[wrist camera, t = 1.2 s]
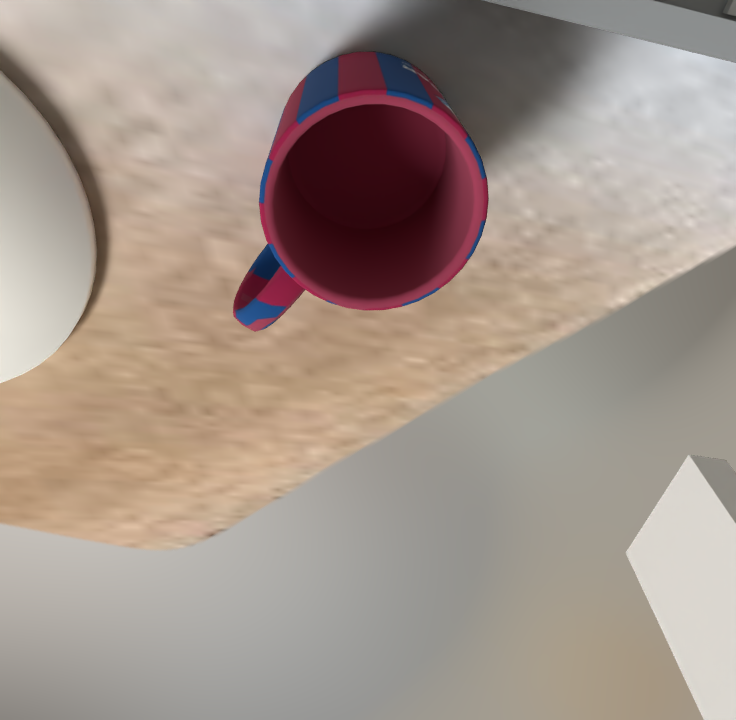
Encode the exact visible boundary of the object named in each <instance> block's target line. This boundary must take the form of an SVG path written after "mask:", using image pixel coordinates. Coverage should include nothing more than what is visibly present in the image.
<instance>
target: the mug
mask: <svg viewBox="0 0 736 720" xmlns="http://www.w3.org/2000/svg"><path fill="white" fill-rule="evenodd" d="M488 199H489V198H488V185H487V177H486V173H485V170H484V166H483V162H482V159H481V157H480V155H479V153H478V151H477V149H476V147H475V145H474V142H473V141H472V139H471V138H470V136H469V135H468V133H467V132H466V130H465V129H464V127H463V126H462V124H461V123H460V121H459V120H458V118H457V117H456V115H455V114H454V112H453V111H452V109H451V108H450V106H449V105H448V103H447V101H446V100H445V98H444V97H443V95H442V94H441V93H440V91H439V90H438V88H437V87H436V86H435V84H434V83H433V82H432V80H430V79H429V78H428V77H427V76H426V75H425V74H424V73H423V72H422V71H421V70H420V69H418V68H417V67H415V66H413V65H412V64H410V63H409V62H407V61H405V60H403V59H400V58H398V57H395V56H393V55H389V54H384V53H378V52H355V53H350V54H345V55H341V56H338V57H336V58H334V59H331V60H329V61H326V62H325V63H323V64H322V65H320V66H319V67H317V68H316V69H314V70H312V71H311V72H310V73H309V74H308V75H307V76H306V77H305V78H304V79H303V80H302V81H301V82H300V83H299V85H298V86H297V87H296V89H295V90H294V92H293V93H292V94H291V96H290V98H289V100H288V102H287V104H286V106H285V108H284V111H283V114H282V117H281V120H280V123H279V126H278V129H277V132H276V135H275V138H274V141H273V144H272V147H271V150H270V153H269V156H268V159H267V162H266V165H265V169H264V172H263V176H262V180H261V185H260V198H259V206H260V216H261V223H262V227H263V230H264V234H265V237H266V240H267V242H268V244H267V245H266V247H265V248H264V249H263V251H262V252H261V253H260V255H259V256H258V257H257V259H256V260H255V262H254V263H253V265H252V266H251V268H250V269H249V271H248V273H247V274H246V276H245V278H244V280H243V281H242V283H241V285H240V287H239V290H238V292H237V294H236V297H235V300H234V306H233V314H234V317H235V318H236V319H237V320H238V321H239V322H240V323H241V324H242V325H243V326H245V327H247V328H249V329H251V330H253V331H259V330H262V329H265V328H267V327H268V326H270V325H271V324H273V323H274V322H275V321H276V320H277V319H278V318H280V317H281V316H282V315H283V314H284V313H285V312H286V311H287V310H288V309H289V308H290V307H291V305H292V304H293V303H294V302H295V301H296V300H297V299H298V298H299V297H300V295H301V294H302V293H303V292H304V291H305V289H306V290H307V291H309V292H310V293H311V294H313V295H315V296H317V297H319V298H321V299H323V300H325V301H327V302H329V303H332V304H336V305H339V306H342V307H346V308H351V309H359V310H386V309H392V308H397V307H402V306H405V305H408V304H411V303H414V302H417V301H419V300H421V299H423V298H425V297H427V296H429V295H431V294H433V293H435V292H436V291H437V290H439V289H440V288H441V287H443V286H444V285H445V284H447V283H448V282H450V281H451V280H452V278H453V277H454V276H455V275H456V274H457V273H458V272H459V271H460V270H461V269H462V268H463V267H464V265H465V264H466V263H467V261H468V260H469V258H470V257H471V256H472V254H473V252H474V250H475V248H476V246H477V244H478V242H479V240H480V238H481V236H482V232H483V229H484V225H485V222H486V218H487V209H488Z"/></svg>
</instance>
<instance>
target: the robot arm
mask: <svg viewBox="0 0 736 720" xmlns="http://www.w3.org/2000/svg"><path fill="white" fill-rule="evenodd" d="M626 554H627V557H628V559H629V561H630V563H631V565H632V567H633V569H634V571H635V573H636V576H637V578H638V580H639V582H640V584H641V586H642V589H643V591H644V593H645V595H646V597H647V599H648V601H649V603H650V605H651V608H652V610H653V612H654V614H655V616H656V619H657V621H658V623H659V625H660V627H661V629H662V631H663V633H664V636H665V638H666V640H667V642H668V644H669V646H670V648H671V650H672V653H673V655H674V657H675V659H676V661H677V663H678V665H679V668H680V670H681V672H682V674H683V676H684V678H685V681H686V682H687V685H688V687H689V689H690V691H691V693H692V695H693V698H694V700H695V702H696V704H697V706H698V708H699V710H700V713H701V715H702V717H703V719H704V720H736V473H735V471H734V470H733V469H732V467H731V466H730V465H729V464H728V462H727V461H726V460H722V459H716V458H709V457H702V456H695V455H688V457H687V458H686V460H685V461H684V463H683V465H682V466H681V468H680V469H679V471H678V473H677V474H676V475H675V477H674V479H673V480H672V482H671V483H670V485H669V486H668V488H667V490H666V491H665V493H664V494H663V496H662V497H661V499H660V500H659V502H658V503H657V505H656V507H655V508H654V510H653V511H652V513H651V514H650V516H649V517H648V519H647V521H646V522H645V524H644V525H643V527H642V529H641V530H640V531H639V533H638V535H637V536H636V538H635V539H634V541H633V542H632V544H631V545H630V547H629V549H628V550H627V552H626Z"/></svg>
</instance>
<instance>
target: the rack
mask: <svg viewBox="0 0 736 720" xmlns="http://www.w3.org/2000/svg"><path fill="white" fill-rule="evenodd" d="M483 1H487V2H491V3H495V4H499V5H503V6H507V7H511V8H515V9H519V10H523V11H528V12H532V13H536V14H540V15H544V16H548V17H552V18H556V19H560V20H564V21H568V22H572V23H576V24H580V25H584V26H588V27H592V28H597V29H601V30H605V31H609V32H613V33H617V34H621V35H625V36H629V37H633V38H637V39H641V40H645V41H649V42H653V43H657V44H661V45H666V46H670V47H674V48H678V49H682V50H686V51H690V52H694V53H698V54H702V55H706V56H710V57H714V58H718V59H722V60H726V61H730V62H735V63H736V0H483Z"/></svg>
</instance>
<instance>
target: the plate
mask: <svg viewBox="0 0 736 720" xmlns="http://www.w3.org/2000/svg"><path fill="white" fill-rule="evenodd" d="M96 261H97V245H96V235H95V226H94V222H93V218H92V213H91V209H90V205H89V201H88V198H87V196H86V193H85V190H84V188H83V185H82V182H81V180H80V177H79V175H78V173H77V171H76V169H75V167H74V165H73V163H72V161H71V159H70V157H69V155H68V153H67V151H66V149H65V148H64V146H63V145H62V143H61V142H60V140H59V139H58V137H57V136H56V134H55V133H54V131H53V130H52V128H51V127H50V125H49V124H48V122H47V121H46V120H45V118H44V117H43V116H42V115H41V113H40V112H39V111H38V110H37V109H36V107H35V106H34V105H33V104H32V102H31V101H30V100H29V99H28V98H27V96H26V95H25V94H24V93H23V92H22V91H21V90H20V89H19V88H18V87H17V86H16V85H15V84H14V83H13V82H12V81H11V80H10V79H9V78H8V77H7V76H6V75H5V74H4V73H3V72H2V71H1V70H0V383H2V382H4V381H7V380H10V379H12V378H15V377H17V376H20V375H22V374H24V373H26V372H27V371H29V370H31V369H33V368H34V367H36V366H38V365H40V364H41V363H42V362H43V361H45V360H46V359H47V358H48V357H50V356H51V355H52V354H53V353H54V352H55V351H56V350H57V349H58V348H59V347H60V346H61V345H62V343H63V342H64V341H65V340H66V339H67V338H68V336H69V335H70V333H71V332H72V330H73V329H74V327H75V326H76V324H77V323H78V321H79V319H80V318H81V316H82V314H83V313H84V311H85V308H86V306H87V303H88V301H89V298H90V296H91V293H92V289H93V284H94V279H95V275H96Z"/></svg>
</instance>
